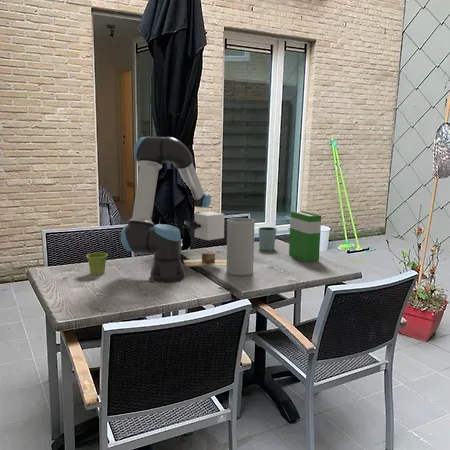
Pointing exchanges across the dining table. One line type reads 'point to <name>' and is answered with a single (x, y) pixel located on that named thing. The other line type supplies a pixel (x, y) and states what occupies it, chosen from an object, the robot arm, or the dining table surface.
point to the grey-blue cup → (267, 238)
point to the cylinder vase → (240, 246)
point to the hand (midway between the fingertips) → (214, 225)
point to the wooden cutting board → (199, 263)
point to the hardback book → (305, 236)
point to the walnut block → (208, 257)
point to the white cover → (210, 225)
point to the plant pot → (97, 263)
